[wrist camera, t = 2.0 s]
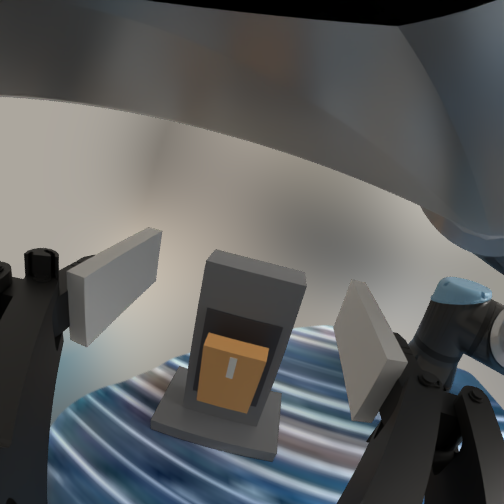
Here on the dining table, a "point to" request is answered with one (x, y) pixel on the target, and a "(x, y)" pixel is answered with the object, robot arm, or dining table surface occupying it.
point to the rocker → (230, 372)
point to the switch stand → (242, 329)
